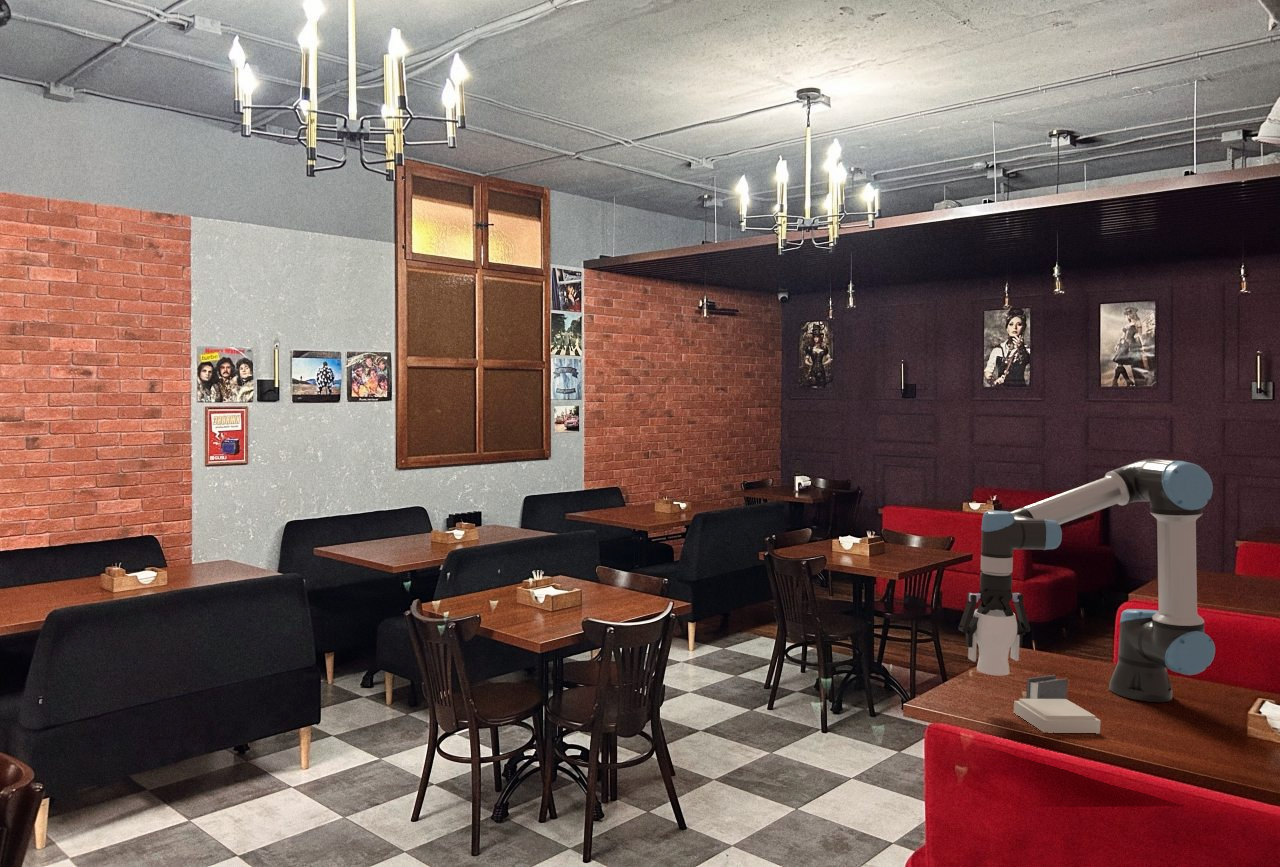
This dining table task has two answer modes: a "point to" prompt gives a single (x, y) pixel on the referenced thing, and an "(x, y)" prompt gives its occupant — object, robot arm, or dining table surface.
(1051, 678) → the napkin holder
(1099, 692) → the dining table surface
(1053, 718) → the pedestal
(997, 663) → the cup
